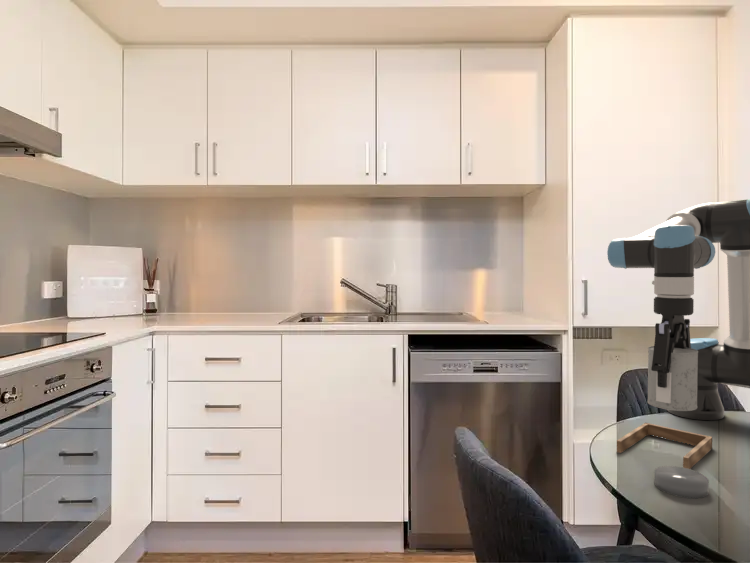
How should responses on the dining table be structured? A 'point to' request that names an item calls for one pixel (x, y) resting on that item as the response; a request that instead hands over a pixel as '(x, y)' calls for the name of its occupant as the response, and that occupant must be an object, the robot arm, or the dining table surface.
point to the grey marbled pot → (677, 380)
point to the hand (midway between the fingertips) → (672, 397)
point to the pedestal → (681, 482)
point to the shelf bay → (690, 459)
